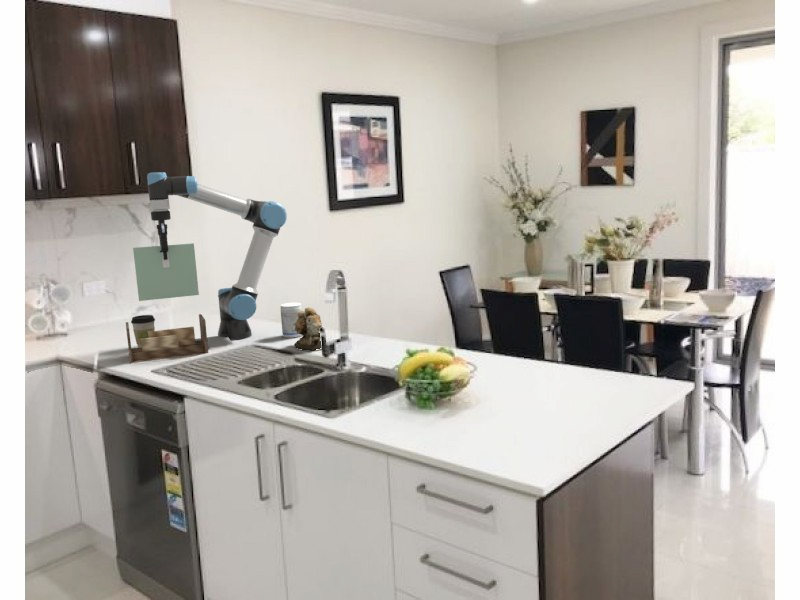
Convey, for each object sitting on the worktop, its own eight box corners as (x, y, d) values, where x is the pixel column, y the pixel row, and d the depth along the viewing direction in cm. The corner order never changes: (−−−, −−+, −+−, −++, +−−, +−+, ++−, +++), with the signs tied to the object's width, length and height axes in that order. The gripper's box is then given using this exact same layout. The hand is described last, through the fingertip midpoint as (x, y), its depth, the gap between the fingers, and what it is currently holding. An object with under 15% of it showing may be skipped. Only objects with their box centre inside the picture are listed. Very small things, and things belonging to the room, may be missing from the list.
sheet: (198, 294, 294) (193, 243, 290) (198, 294, 293) (193, 243, 289) (138, 300, 285) (133, 247, 281) (139, 301, 284) (133, 248, 280)
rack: (204, 349, 295) (201, 314, 292) (208, 356, 282) (205, 319, 279) (129, 359, 284) (125, 322, 281) (130, 366, 271) (126, 328, 268)
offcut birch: (179, 353, 283) (177, 334, 282) (179, 354, 282) (177, 335, 281) (143, 358, 278) (140, 338, 277) (143, 358, 277) (141, 339, 275)
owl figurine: (286, 346, 295) (283, 307, 292) (309, 341, 302) (307, 303, 299) (309, 352, 281) (307, 311, 278) (333, 347, 289) (330, 307, 286)
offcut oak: (195, 349, 288) (193, 326, 287) (196, 350, 287) (193, 327, 286) (150, 355, 282) (147, 331, 280) (150, 356, 281) (148, 332, 279)
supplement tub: (290, 333, 320) (288, 302, 318) (307, 334, 316) (305, 302, 314) (278, 337, 312) (275, 305, 309) (295, 338, 308) (293, 306, 305)
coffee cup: (150, 353, 291) (146, 319, 289) (129, 353, 293) (125, 319, 291) (162, 348, 301) (159, 314, 298) (142, 348, 303) (138, 314, 300)
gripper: (149, 210, 288) (155, 266, 292) (151, 211, 275) (157, 269, 279) (168, 209, 291) (174, 264, 295) (171, 210, 278) (177, 268, 282)
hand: (166, 267), depth 287 cm, fingers closed on sheet
